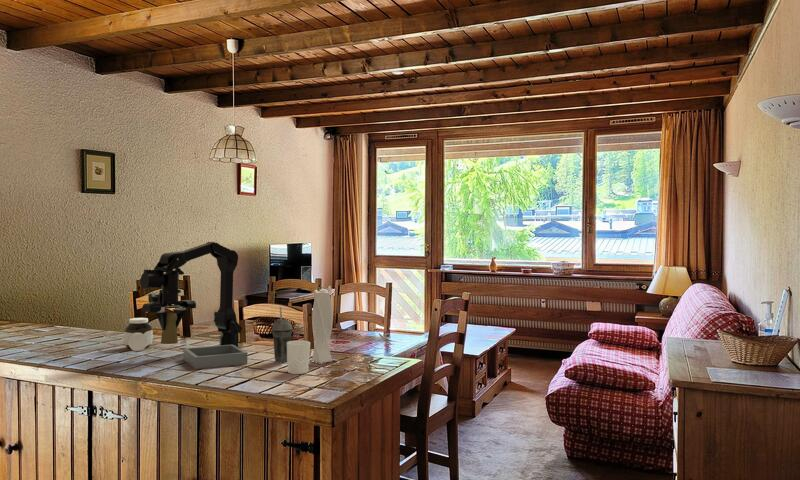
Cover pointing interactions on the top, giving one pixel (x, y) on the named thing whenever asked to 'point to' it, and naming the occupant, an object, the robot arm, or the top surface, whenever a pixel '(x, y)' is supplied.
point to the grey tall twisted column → (322, 325)
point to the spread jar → (138, 334)
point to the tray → (215, 356)
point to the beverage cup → (281, 338)
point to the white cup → (298, 356)
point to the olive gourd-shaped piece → (170, 330)
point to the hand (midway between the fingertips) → (169, 329)
